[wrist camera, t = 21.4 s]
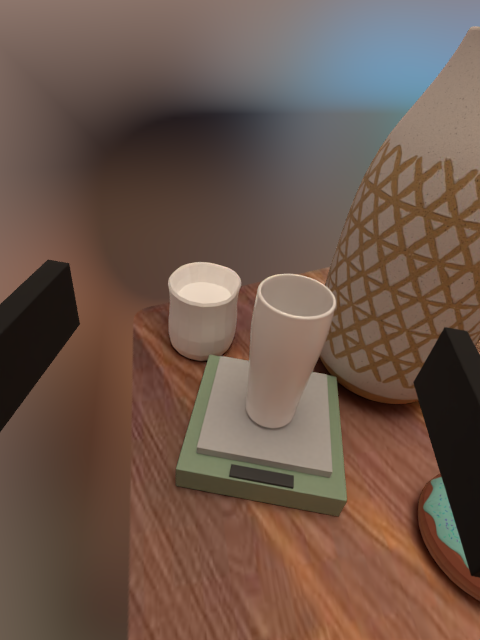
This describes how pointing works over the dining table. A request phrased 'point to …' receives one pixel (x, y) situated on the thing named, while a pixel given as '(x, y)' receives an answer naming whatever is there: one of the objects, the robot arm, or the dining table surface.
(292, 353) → the drinking glass
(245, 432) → the scale
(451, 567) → the donut
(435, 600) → the dining table surface
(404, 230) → the vase
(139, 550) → the dining table surface
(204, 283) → the cup
